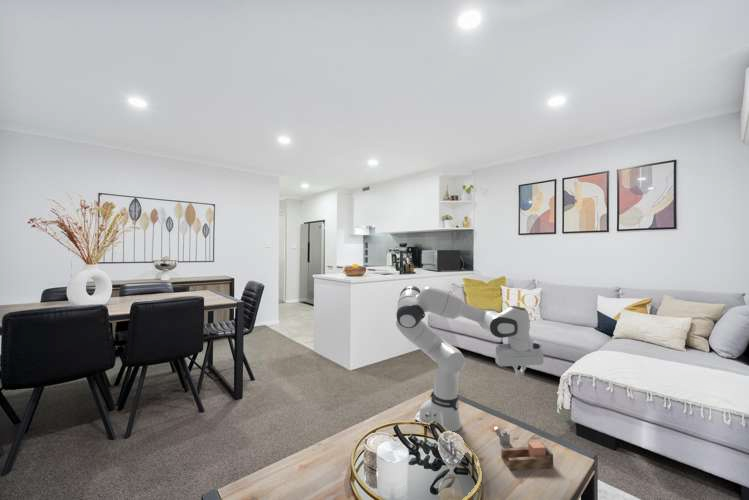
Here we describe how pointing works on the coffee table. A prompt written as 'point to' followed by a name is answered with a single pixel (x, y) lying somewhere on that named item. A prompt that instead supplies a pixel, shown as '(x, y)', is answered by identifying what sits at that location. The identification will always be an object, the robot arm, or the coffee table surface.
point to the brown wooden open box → (525, 459)
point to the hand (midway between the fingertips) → (519, 374)
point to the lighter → (503, 436)
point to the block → (536, 449)
